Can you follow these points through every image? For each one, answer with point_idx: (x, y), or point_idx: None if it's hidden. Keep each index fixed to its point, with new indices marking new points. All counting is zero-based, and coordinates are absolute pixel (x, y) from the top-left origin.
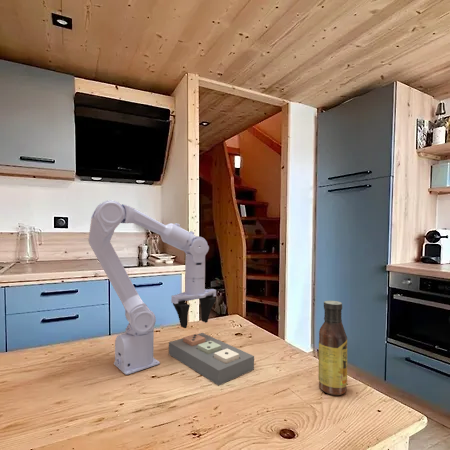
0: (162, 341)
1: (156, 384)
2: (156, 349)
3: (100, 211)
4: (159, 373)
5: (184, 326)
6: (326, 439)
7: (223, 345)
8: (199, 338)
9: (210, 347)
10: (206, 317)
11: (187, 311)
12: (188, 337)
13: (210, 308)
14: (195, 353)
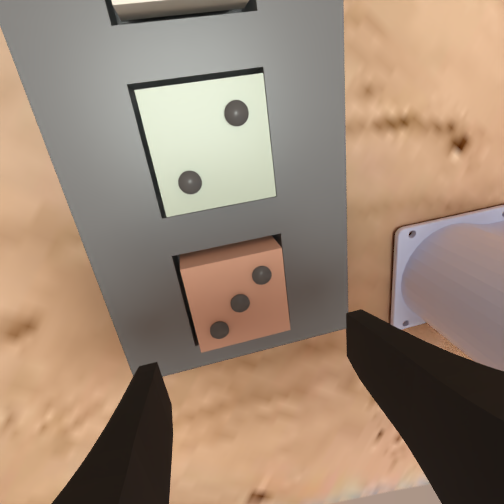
0: (286, 412)
1: (489, 72)
2: (338, 355)
3: None
4: (433, 156)
5: (371, 316)
6: None
7: (91, 143)
8: (217, 280)
9: (225, 105)
10: (150, 394)
11: (472, 391)
12: (267, 317)
13: (84, 485)
14: (315, 129)
